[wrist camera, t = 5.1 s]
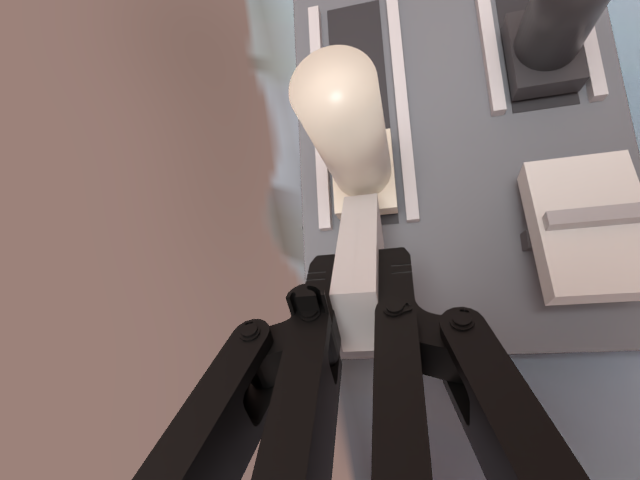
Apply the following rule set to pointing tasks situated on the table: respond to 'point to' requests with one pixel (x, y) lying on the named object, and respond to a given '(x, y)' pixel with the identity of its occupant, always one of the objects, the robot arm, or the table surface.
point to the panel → (469, 161)
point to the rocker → (584, 227)
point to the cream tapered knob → (346, 123)
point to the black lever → (549, 46)
